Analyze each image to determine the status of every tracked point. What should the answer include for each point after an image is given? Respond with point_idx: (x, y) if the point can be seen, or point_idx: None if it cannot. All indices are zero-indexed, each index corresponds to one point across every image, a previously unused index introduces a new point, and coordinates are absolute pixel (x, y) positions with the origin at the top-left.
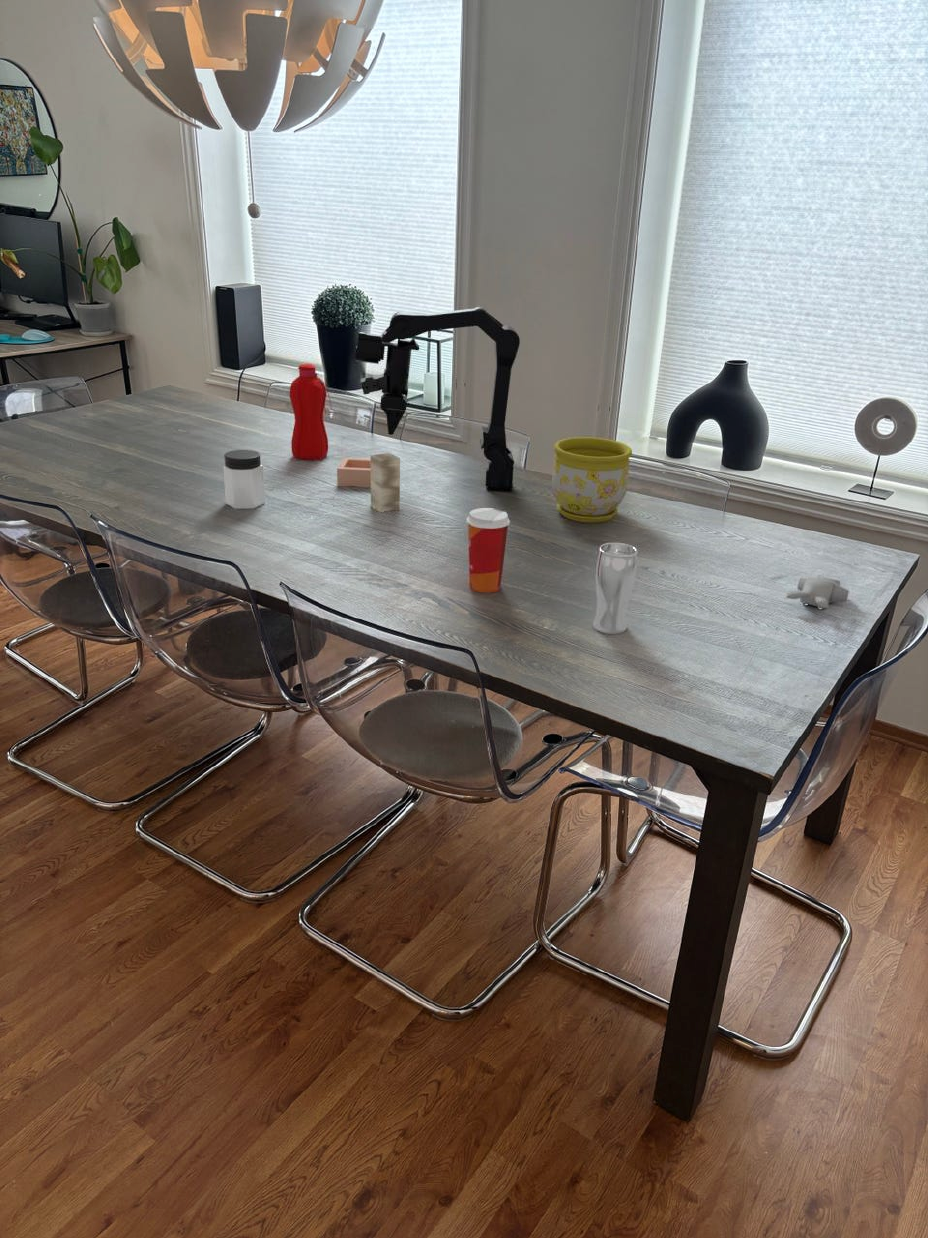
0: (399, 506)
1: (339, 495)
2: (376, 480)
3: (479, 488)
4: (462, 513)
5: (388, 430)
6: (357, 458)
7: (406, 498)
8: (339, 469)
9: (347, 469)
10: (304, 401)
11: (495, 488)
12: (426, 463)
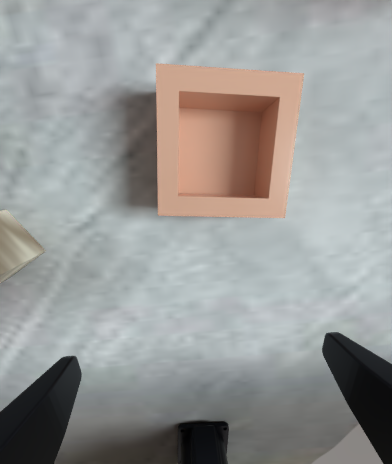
0: (2, 281)
1: (75, 109)
2: None
3: (195, 410)
4: None
5: (32, 384)
6: (294, 131)
7: (95, 285)
8: (157, 75)
9: (157, 108)
10: None
11: (182, 440)
12: (370, 302)
